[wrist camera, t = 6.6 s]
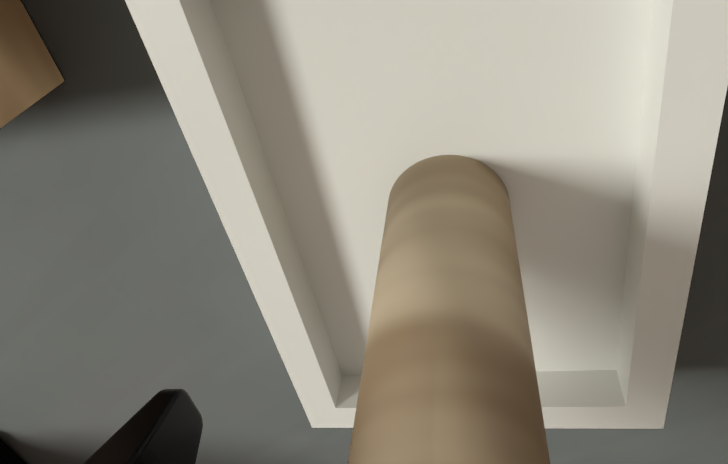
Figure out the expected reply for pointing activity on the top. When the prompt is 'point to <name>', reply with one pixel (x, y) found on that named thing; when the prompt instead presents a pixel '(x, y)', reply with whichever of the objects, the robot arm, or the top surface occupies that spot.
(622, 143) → the tray
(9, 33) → the holder
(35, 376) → the top surface
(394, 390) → the dowel
